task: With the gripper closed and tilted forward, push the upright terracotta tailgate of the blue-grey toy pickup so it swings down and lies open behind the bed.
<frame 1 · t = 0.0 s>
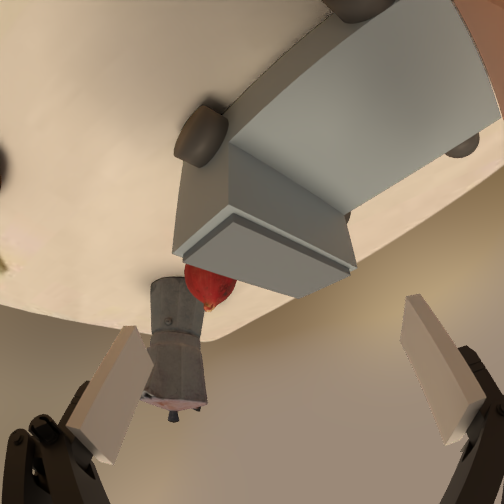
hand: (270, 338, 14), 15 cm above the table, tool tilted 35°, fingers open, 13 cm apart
moka pot: (181, 288, 46), on the table
pickup bed: (366, 87, 18), on the table
onion: (211, 244, 35), on the table
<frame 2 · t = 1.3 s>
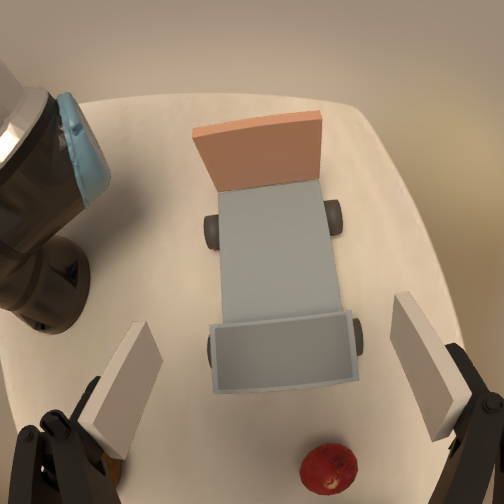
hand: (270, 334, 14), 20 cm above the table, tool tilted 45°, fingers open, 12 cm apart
potato: (105, 468, 29), on the table
pickup bed: (278, 262, 36), on the table
onion: (326, 458, 27), on the table
tailgate: (262, 153, 31), point 9 cm above the table, hinge at 0.0°
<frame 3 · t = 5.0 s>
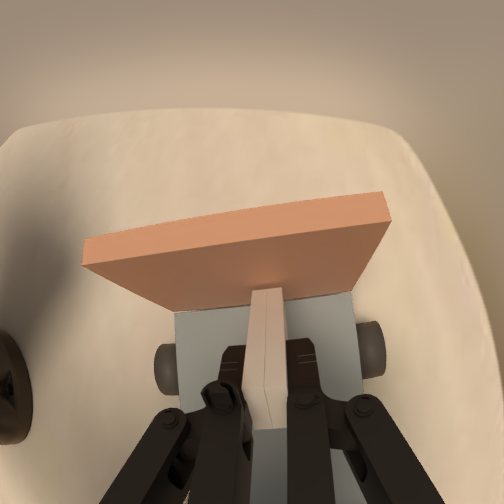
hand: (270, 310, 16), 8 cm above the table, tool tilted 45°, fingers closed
pickup bed: (276, 413, 21), on the table
tailgate: (244, 267, 15), point 9 cm above the table, hinge at 1.6°, touching gripper
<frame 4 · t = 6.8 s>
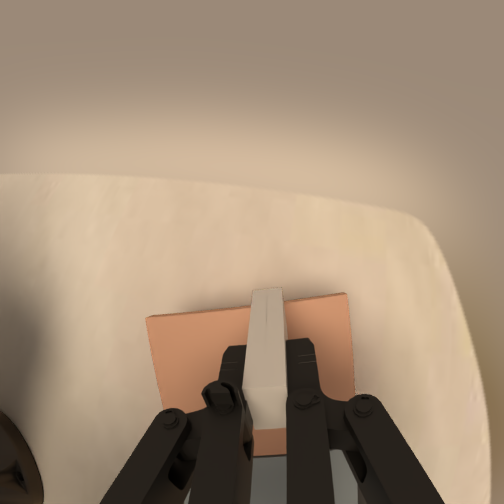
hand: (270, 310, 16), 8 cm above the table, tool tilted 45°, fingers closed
tailgate: (254, 385, 17), point 5 cm above the table, hinge at 73.4°
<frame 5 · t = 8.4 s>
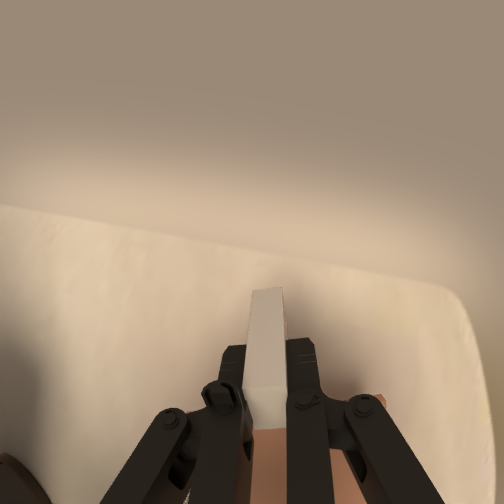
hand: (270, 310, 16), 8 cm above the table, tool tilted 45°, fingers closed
tailgate: (288, 475, 15), point 4 cm above the table, hinge at 76.0°
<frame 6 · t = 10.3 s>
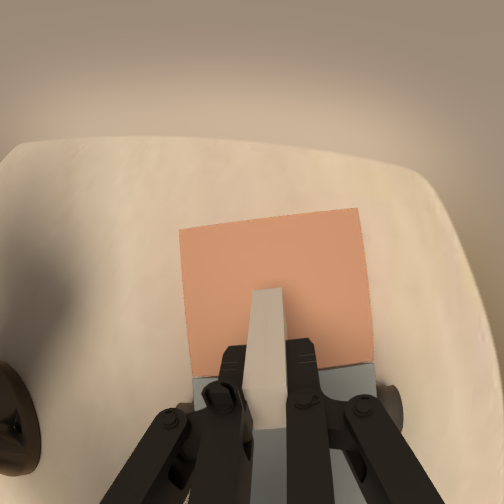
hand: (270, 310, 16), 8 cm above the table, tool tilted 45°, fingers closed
pickup bed: (291, 466, 19), on the table
tailgate: (276, 296, 20), point 4 cm above the table, hinge at 76.0°
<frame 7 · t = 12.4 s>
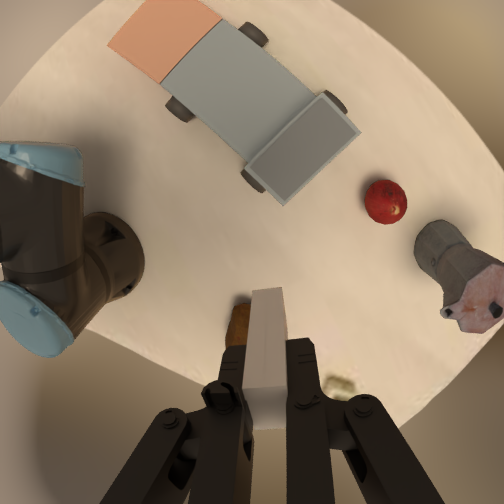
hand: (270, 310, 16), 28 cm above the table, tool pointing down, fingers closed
potato: (254, 327, 51), on the table
moka pot: (438, 244, 42), on the table
pickup bed: (239, 91, 37), on the table
onion: (377, 196, 40), on the table
tailgate: (163, 30, 30), point 4 cm above the table, hinge at 76.0°
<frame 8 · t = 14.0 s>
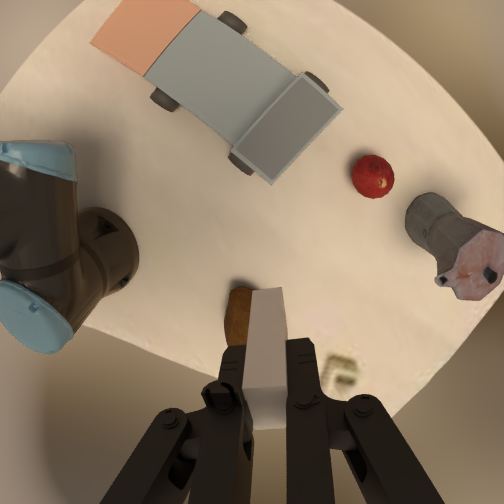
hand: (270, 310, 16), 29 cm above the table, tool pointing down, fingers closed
potato: (251, 310, 51), on the table
moka pot: (428, 216, 43), on the table
pickup bed: (222, 78, 37), on the table
onion: (364, 172, 41), on the table
tailgate: (144, 25, 30), point 4 cm above the table, hinge at 76.0°
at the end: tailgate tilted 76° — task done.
